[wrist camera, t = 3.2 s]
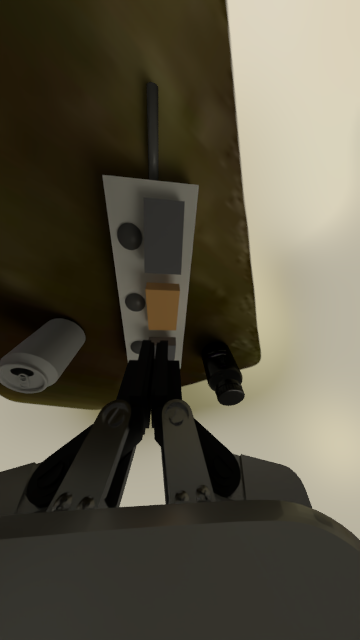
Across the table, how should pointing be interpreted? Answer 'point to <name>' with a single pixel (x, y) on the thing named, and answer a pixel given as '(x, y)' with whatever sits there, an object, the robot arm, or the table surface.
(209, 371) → the supplement bottle
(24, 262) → the table surface
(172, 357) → the block
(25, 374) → the can
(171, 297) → the rocker
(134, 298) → the power strip
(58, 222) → the table surface
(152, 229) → the block
